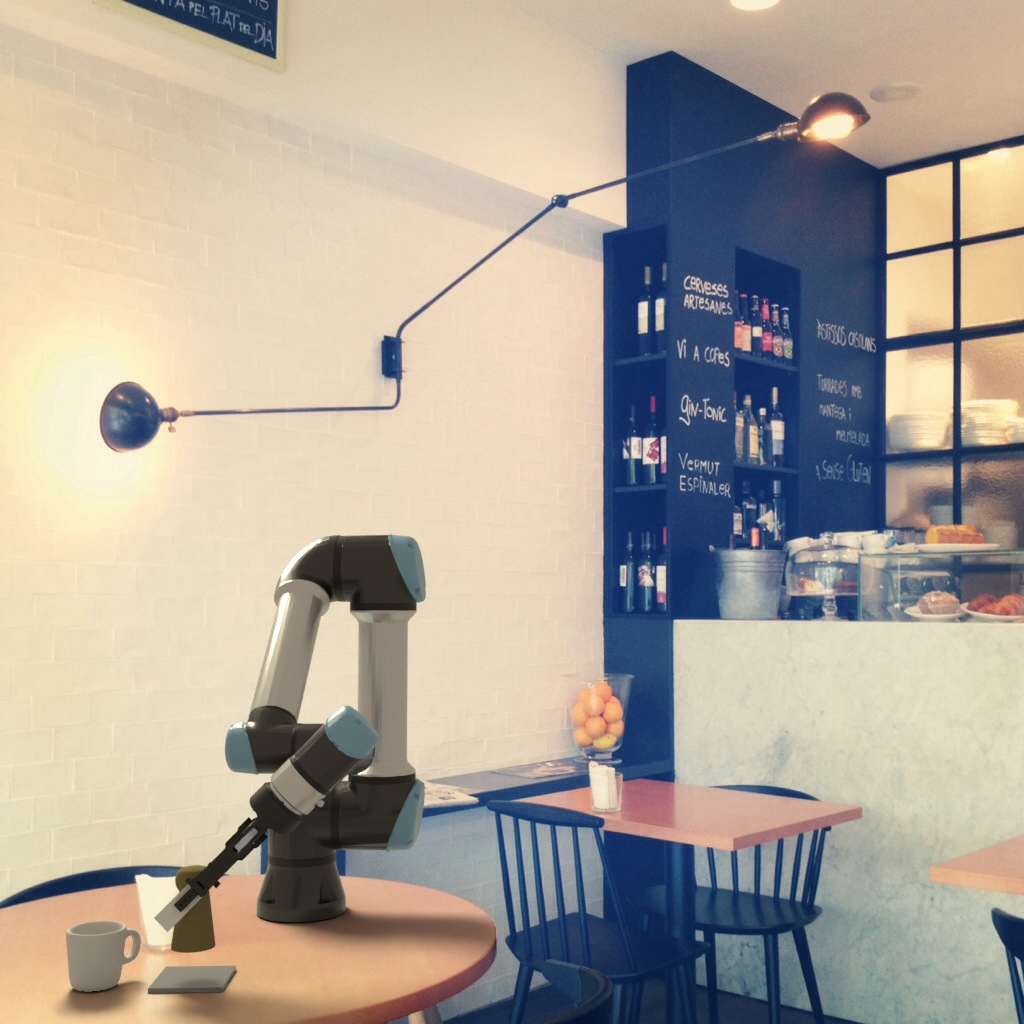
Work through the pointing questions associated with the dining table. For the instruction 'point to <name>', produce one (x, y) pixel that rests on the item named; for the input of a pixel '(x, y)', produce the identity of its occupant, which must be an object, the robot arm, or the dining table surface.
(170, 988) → the coaster
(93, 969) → the cup
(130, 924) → the dining table surface
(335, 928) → the dining table surface
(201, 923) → the pepper mill
